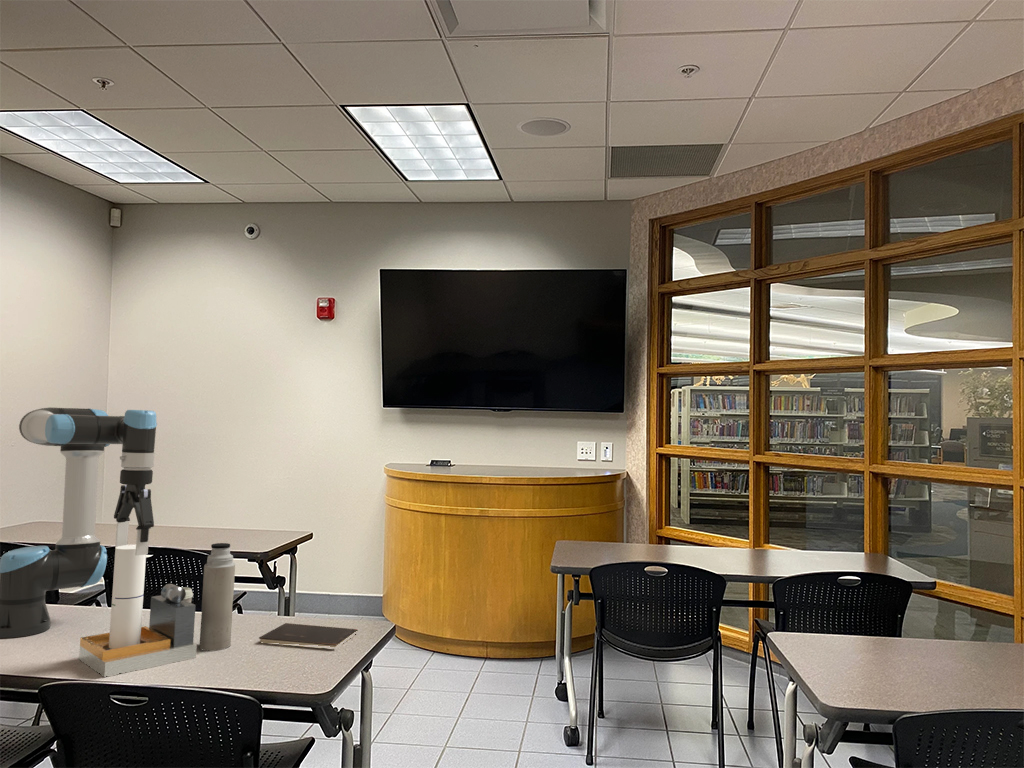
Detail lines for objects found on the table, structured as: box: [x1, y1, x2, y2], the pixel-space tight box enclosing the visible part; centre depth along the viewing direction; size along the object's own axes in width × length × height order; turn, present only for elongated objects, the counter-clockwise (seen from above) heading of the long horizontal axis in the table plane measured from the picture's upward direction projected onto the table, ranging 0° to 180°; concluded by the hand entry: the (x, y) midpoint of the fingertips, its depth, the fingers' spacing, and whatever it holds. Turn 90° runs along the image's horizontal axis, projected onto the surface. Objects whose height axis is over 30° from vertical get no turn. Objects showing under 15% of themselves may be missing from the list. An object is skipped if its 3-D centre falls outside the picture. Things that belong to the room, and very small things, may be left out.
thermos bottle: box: [199, 542, 236, 651], centre depth 197 cm, size 8×8×28 cm
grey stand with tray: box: [78, 583, 198, 678], centre depth 184 cm, size 18×22×18 cm
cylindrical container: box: [109, 544, 147, 649], centre depth 183 cm, size 7×7×25 cm
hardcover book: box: [258, 622, 358, 647], centre depth 205 cm, size 16×23×2 cm
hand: (131, 550), depth 184 cm, fingers open, 13 cm apart
